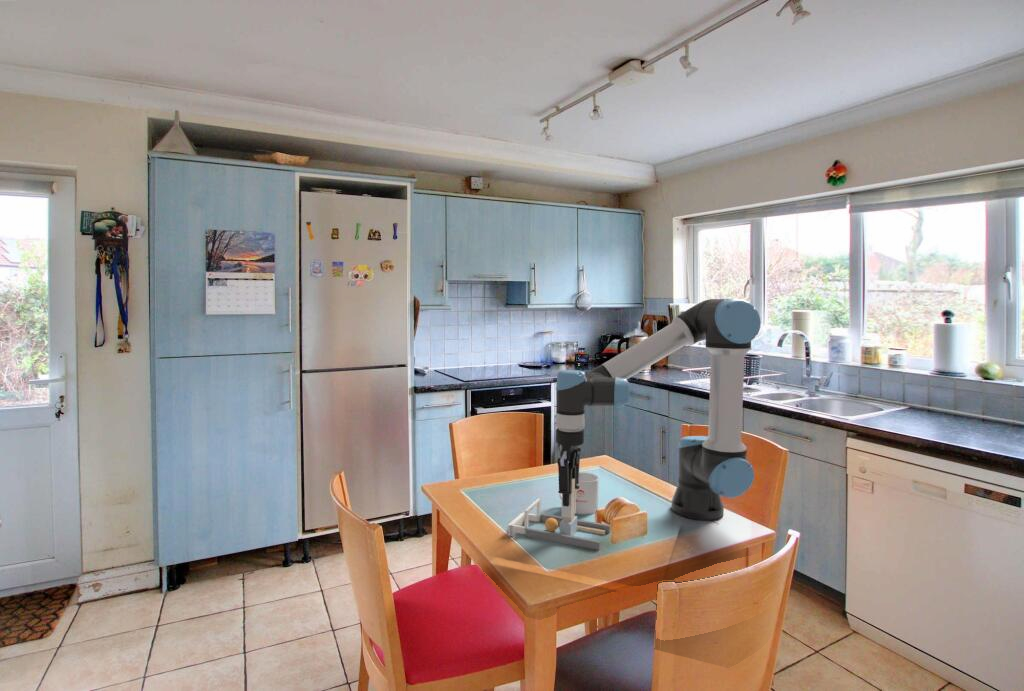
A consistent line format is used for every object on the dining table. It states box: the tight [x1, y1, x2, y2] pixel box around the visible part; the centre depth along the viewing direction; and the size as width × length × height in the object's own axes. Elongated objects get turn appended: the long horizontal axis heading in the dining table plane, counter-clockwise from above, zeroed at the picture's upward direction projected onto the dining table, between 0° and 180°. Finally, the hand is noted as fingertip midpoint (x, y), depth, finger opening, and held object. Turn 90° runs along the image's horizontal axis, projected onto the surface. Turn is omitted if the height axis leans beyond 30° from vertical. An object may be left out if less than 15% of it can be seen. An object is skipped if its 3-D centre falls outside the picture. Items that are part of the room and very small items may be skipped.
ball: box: [544, 518, 559, 532], centre depth 149 cm, size 4×4×4 cm
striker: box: [559, 478, 578, 536], centre depth 146 cm, size 3×6×15 cm, turn 156°
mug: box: [558, 472, 600, 515], centre depth 165 cm, size 12×9×11 cm
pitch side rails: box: [525, 512, 611, 551], centre depth 147 cm, size 20×12×3 cm, turn 66°
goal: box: [507, 498, 542, 537], centre depth 152 cm, size 6×10×8 cm, turn 156°
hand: (568, 514), depth 147 cm, fingers closed on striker, 2 cm apart
